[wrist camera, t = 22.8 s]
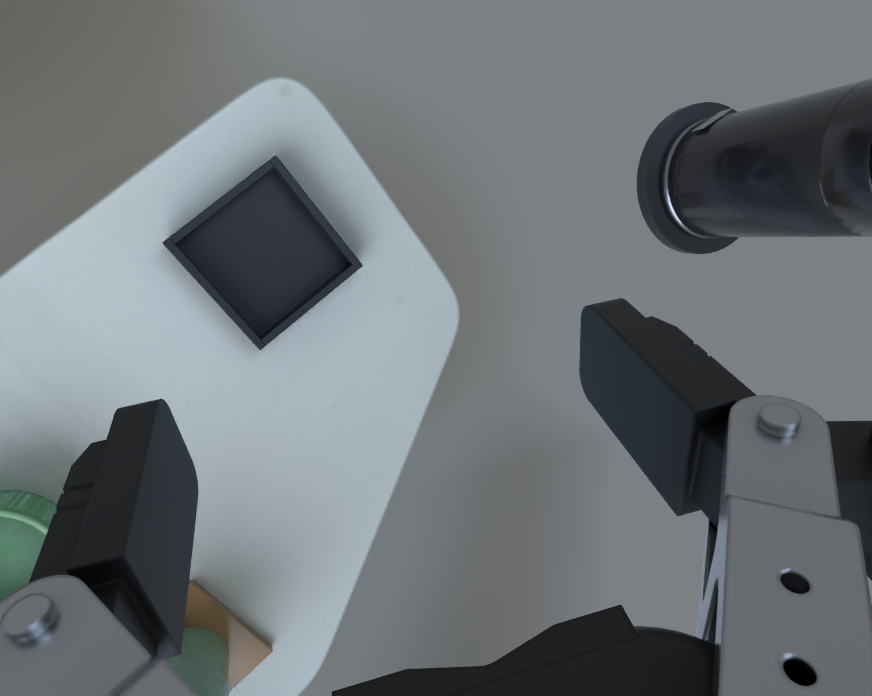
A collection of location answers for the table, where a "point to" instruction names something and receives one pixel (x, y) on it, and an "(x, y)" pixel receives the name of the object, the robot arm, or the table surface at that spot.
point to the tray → (264, 253)
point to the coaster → (226, 632)
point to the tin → (203, 662)
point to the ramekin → (21, 536)
